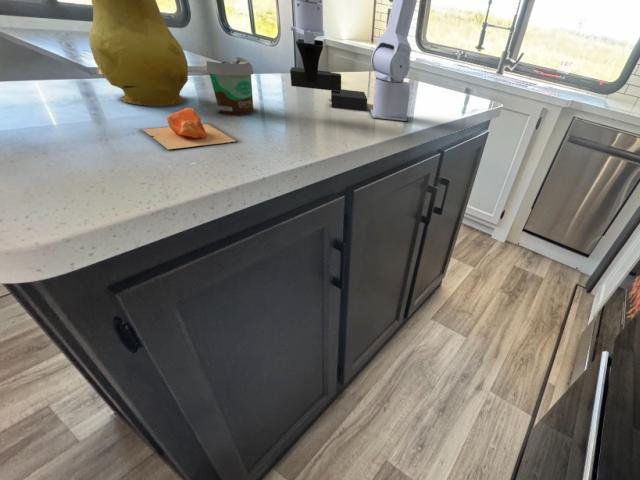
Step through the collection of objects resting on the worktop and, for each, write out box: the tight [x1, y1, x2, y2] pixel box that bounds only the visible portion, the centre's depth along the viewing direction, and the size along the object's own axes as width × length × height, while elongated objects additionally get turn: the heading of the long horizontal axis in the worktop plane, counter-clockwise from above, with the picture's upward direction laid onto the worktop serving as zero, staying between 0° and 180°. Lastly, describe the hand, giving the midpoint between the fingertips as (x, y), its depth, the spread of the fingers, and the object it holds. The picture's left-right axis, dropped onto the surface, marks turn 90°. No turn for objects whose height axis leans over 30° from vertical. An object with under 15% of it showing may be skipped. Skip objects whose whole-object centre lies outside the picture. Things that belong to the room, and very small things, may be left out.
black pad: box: [289, 66, 342, 91], centre depth 78 cm, size 11×5×3 cm, turn 100°
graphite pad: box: [330, 88, 368, 112], centre depth 98 cm, size 10×10×3 cm
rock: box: [141, 107, 236, 150], centre depth 62 cm, size 12×12×4 cm
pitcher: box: [88, 0, 189, 107], centre depth 71 cm, size 17×19×25 cm
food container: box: [206, 56, 254, 116], centre depth 77 cm, size 12×6×10 cm, turn 168°
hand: (311, 79), depth 78 cm, fingers closed on black pad, 5 cm apart
